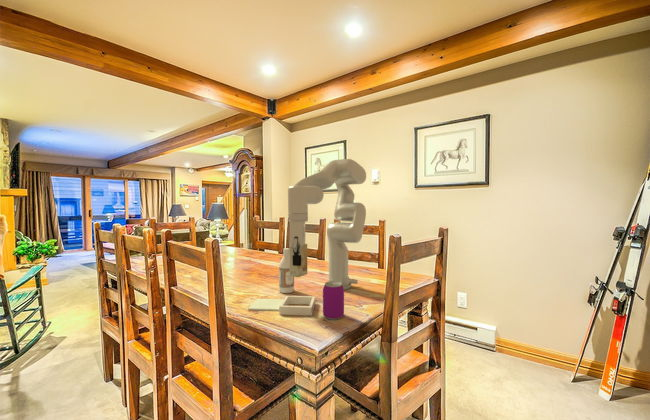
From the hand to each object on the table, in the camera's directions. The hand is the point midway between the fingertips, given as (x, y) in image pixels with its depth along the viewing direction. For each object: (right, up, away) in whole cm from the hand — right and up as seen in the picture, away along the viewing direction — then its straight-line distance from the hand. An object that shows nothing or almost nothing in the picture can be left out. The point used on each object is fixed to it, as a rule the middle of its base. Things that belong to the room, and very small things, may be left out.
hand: (298, 262), depth 108 cm
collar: (0, -18, 0) cm, 18 cm away
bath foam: (-8, -18, +22) cm, 29 cm away
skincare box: (0, -5, 0) cm, 5 cm away
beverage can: (+13, -18, -7) cm, 24 cm away
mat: (-13, -18, +4) cm, 22 cm away
